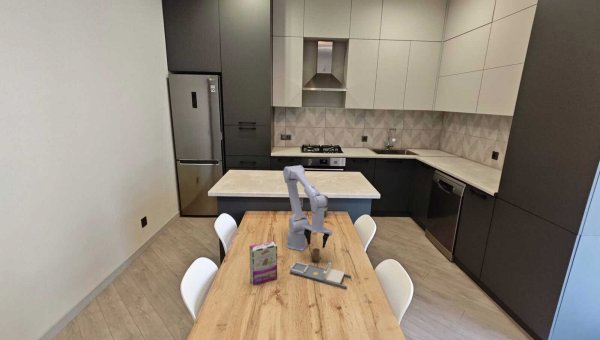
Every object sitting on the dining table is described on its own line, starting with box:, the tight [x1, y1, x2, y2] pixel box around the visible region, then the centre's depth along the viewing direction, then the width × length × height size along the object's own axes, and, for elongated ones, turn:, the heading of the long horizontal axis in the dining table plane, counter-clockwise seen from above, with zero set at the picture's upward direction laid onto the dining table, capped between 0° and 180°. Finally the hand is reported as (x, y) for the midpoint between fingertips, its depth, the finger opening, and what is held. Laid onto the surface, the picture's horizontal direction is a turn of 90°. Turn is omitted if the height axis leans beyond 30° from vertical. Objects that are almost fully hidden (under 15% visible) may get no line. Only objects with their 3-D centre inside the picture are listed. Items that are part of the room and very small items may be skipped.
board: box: [289, 261, 352, 290], centre depth 127 cm, size 27×9×2 cm, turn 68°
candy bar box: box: [249, 240, 278, 286], centre depth 122 cm, size 11×5×16 cm, turn 117°
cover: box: [323, 262, 346, 285], centre depth 124 cm, size 8×9×4 cm
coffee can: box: [324, 195, 329, 219], centre depth 192 cm, size 10×10×14 cm
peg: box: [311, 247, 321, 264], centre depth 138 cm, size 4×4×6 cm
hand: (316, 245), depth 137 cm, fingers open, 7 cm apart
